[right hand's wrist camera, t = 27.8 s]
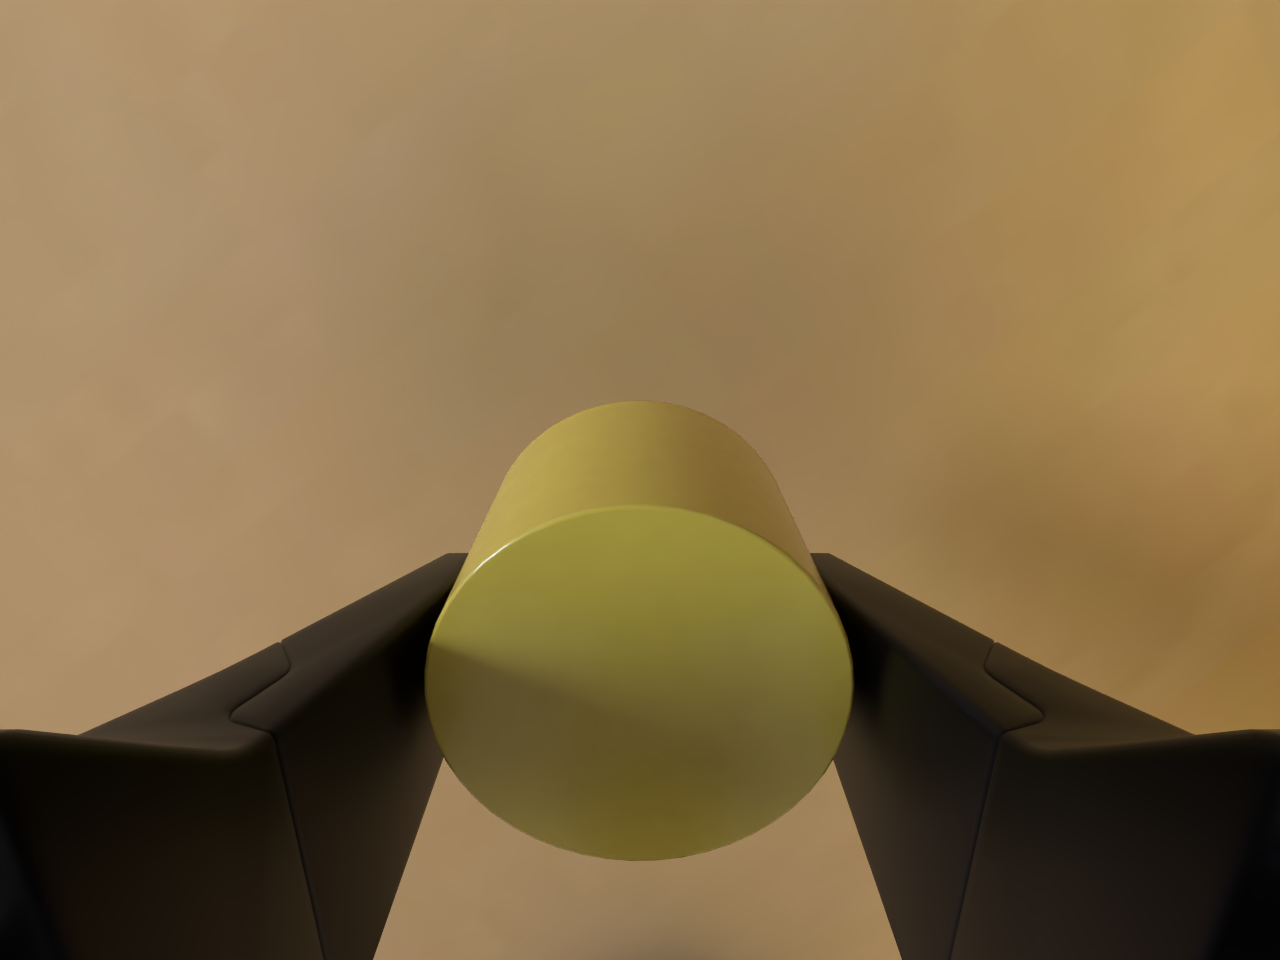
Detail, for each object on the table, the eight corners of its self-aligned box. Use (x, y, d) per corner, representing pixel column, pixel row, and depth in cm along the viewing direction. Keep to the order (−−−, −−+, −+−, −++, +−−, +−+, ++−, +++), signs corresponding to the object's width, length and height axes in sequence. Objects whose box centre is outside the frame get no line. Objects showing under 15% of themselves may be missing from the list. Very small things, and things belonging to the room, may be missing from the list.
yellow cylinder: (559, 348, 11) (516, 430, 7) (842, 476, 12) (940, 612, 8) (449, 606, 12) (367, 784, 9) (705, 704, 13) (731, 908, 9)
